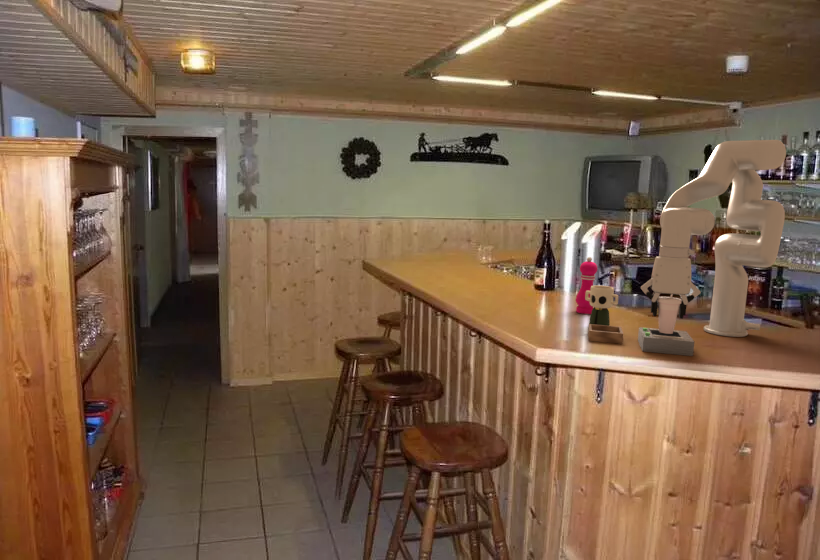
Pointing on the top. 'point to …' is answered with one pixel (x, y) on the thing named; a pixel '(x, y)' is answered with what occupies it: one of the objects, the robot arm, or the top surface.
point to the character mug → (601, 303)
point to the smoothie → (668, 313)
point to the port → (665, 342)
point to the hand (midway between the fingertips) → (667, 316)
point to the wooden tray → (605, 333)
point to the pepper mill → (586, 286)
